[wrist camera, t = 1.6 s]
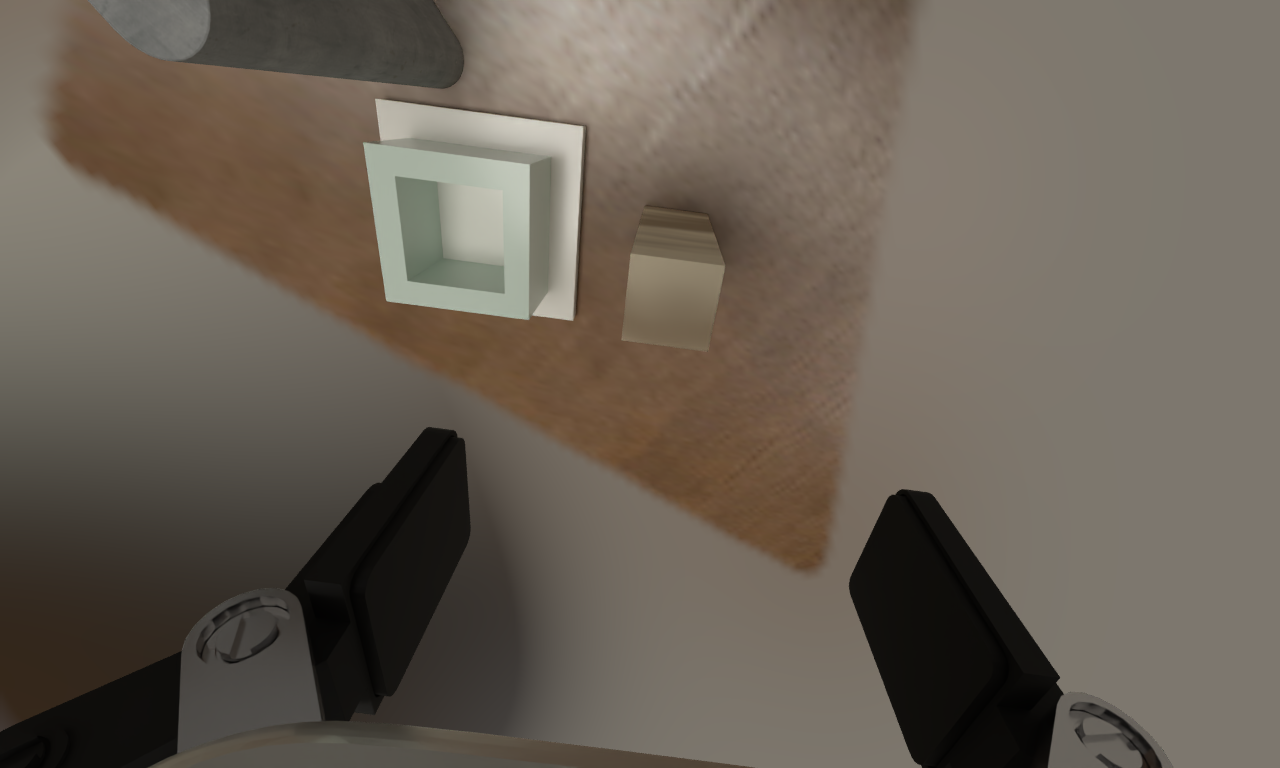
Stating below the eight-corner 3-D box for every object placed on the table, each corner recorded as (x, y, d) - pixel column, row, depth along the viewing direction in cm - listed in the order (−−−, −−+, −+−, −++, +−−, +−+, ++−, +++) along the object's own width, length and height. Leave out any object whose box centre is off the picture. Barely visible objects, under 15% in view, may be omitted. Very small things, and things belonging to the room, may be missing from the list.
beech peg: (644, 205, 31) (630, 253, 20) (707, 213, 31) (725, 266, 20) (637, 267, 33) (621, 340, 22) (696, 275, 33) (707, 351, 22)
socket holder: (384, 99, 29) (320, 96, 24) (585, 126, 29) (566, 129, 24) (407, 293, 35) (360, 325, 29) (575, 315, 35) (558, 351, 30)
